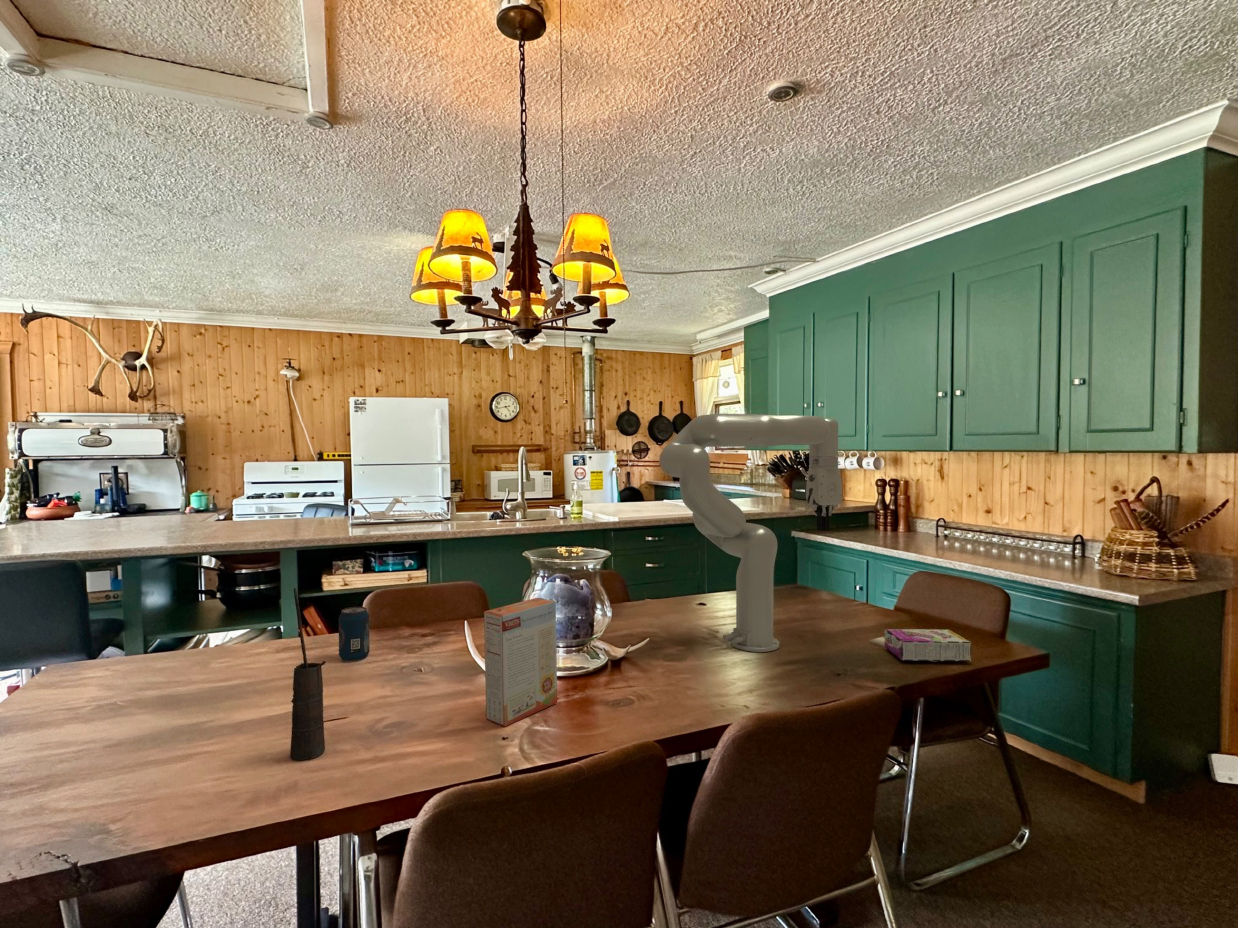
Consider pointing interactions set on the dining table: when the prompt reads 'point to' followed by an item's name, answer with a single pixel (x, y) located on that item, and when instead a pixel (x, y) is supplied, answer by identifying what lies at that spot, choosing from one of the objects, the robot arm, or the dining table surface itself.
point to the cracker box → (520, 660)
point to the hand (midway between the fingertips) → (823, 530)
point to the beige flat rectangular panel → (880, 642)
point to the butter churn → (307, 705)
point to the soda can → (354, 634)
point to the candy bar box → (927, 645)
